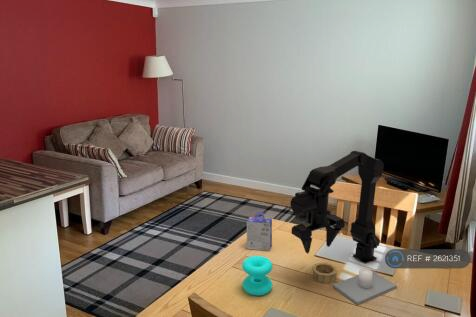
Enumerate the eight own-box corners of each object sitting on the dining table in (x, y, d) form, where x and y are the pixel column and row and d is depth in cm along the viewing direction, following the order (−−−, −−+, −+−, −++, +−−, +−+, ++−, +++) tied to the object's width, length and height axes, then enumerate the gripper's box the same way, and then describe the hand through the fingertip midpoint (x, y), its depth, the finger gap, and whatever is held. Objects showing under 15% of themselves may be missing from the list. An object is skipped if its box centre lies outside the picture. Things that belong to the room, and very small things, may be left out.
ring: (325, 268, 139) (325, 260, 138) (340, 278, 132) (341, 271, 132) (308, 274, 135) (308, 266, 135) (323, 285, 129) (323, 277, 128)
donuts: (260, 251, 132) (278, 263, 124) (260, 276, 134) (278, 290, 126) (236, 259, 127) (253, 273, 119) (237, 285, 129) (253, 301, 121)
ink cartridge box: (272, 245, 157) (272, 212, 153) (270, 251, 152) (270, 217, 148) (248, 243, 159) (248, 210, 155) (246, 249, 154) (246, 216, 150)
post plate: (370, 272, 136) (372, 257, 134) (396, 288, 126) (398, 271, 125) (332, 287, 127) (333, 271, 126) (357, 305, 118) (358, 288, 117)
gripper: (324, 194, 137) (322, 234, 141) (281, 204, 128) (281, 246, 132) (346, 204, 127) (344, 246, 131) (302, 216, 118) (301, 261, 122)
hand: (317, 249), depth 129 cm, fingers open, 9 cm apart
